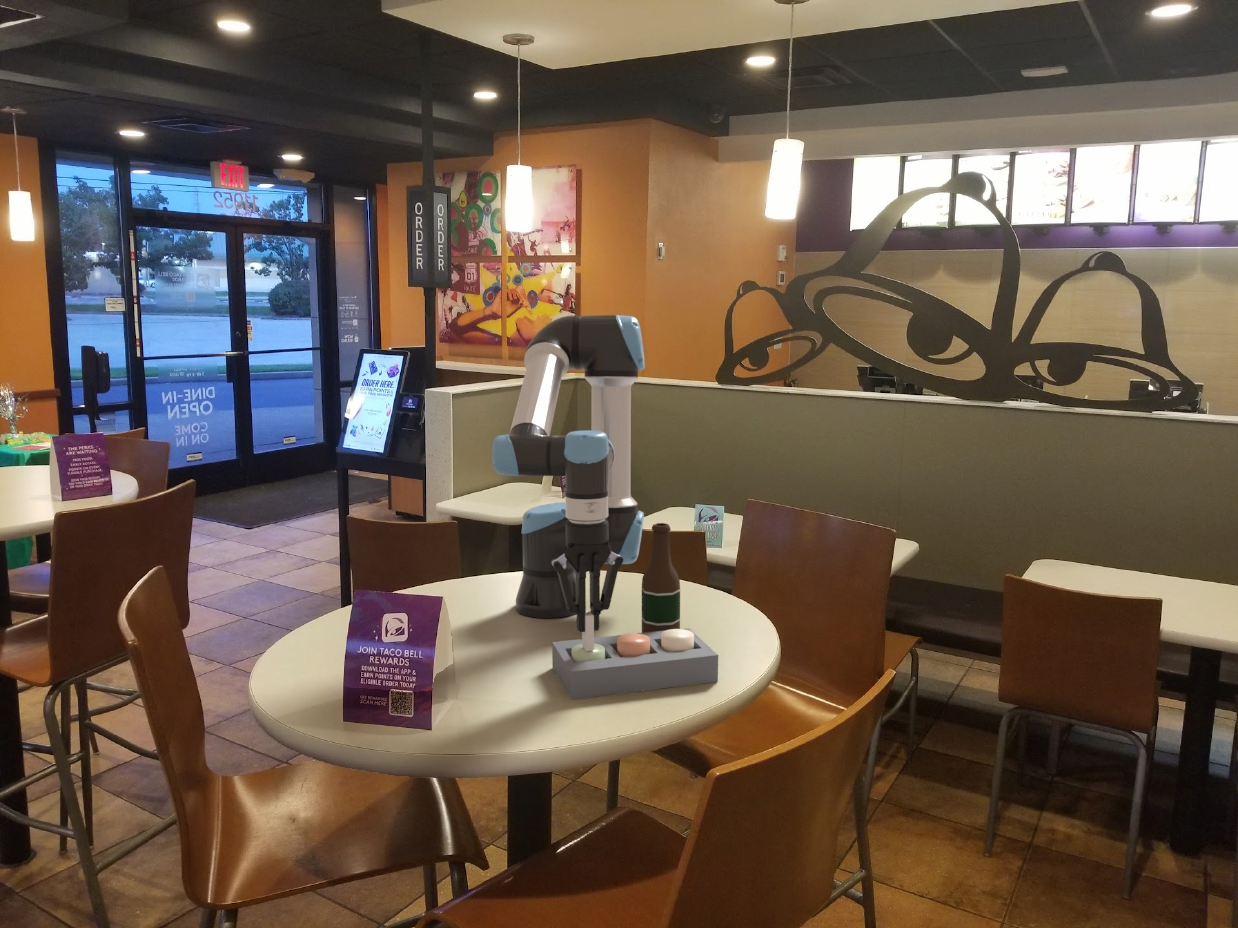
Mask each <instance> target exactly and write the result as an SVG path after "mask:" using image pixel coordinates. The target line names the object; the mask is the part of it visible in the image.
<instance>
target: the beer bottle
mask: <svg viewBox="0 0 1238 928" xmlns="http://www.w3.org/2000/svg"><path fill="white" fill-rule="evenodd" d="M671 530H672V529H671V527H670V524H668V523H664V522H658V523H655V524H652V527H651V531H653V532H652V543H651V546H652V547H651V557H650V563H649V565H648V566H647V568H646V569H645V571H644V572H643V576H642V581H641V633H646V632H656V631H665V630H670V629H681V582H680V577H679V574H678V572H677V570H676V569H675V567H674V566H673V563H672V558H671V544H670V543H671V542H670V531H671Z"/></svg>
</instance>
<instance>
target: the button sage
mask: <svg viewBox="0 0 1238 928" xmlns="http://www.w3.org/2000/svg"><path fill="white" fill-rule="evenodd" d="M600 659H605V648H604V646H602V645H599V644H594V650H592V651H586V650H585V649H584V648H583V646H582V644H578V645H575V646H574V647H572V660H573V662H582V661H591V660H600Z"/></svg>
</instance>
